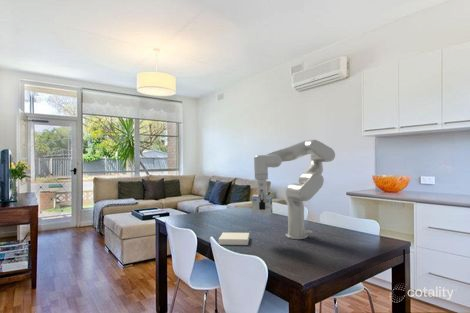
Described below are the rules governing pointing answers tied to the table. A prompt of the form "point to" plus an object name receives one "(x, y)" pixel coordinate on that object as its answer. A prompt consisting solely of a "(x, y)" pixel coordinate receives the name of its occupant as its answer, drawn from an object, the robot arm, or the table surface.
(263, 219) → the table surface
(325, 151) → the robot arm
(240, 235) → the base block
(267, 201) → the light bulb box
